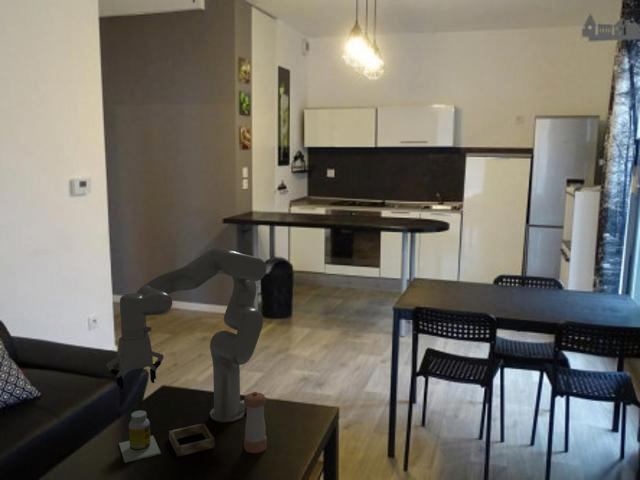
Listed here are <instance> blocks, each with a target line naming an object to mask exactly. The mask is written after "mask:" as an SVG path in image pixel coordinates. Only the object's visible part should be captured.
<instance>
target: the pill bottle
mask: <svg viewBox="0 0 640 480" xmlns="http://www.w3.org/2000/svg"><path fill="white" fill-rule="evenodd" d="M130 416H131V418H130V419H131V420H130V421H129V423H128V435H129V440H128V441H130V449H131V450H132V451H135V452H140V451H144V450H146V449H148V448H149V447H150V444H151V442H150V436H151V424H150V423H151V422H150V420H149V419H148V418H147V416H148V415H147V412H146V411H145V410H136V411H133V412H132V413H131V415H130Z"/></svg>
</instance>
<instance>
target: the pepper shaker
mask: <svg viewBox="0 0 640 480" xmlns="http://www.w3.org/2000/svg"><path fill="white" fill-rule="evenodd" d="M243 400H244V403H245V405H246V406H247V407H246V419H245V420H246V421H245V427H244V433H245V434H244V435H245V436H244V438H243V439H244V441H243V442H244V444H243V445H244V447H243V448H244V450H245V451H246V452H247V453H249V454H250V453H251V454H258V453H263V452H264V451H266V450H267V449H268V448H267V446H268V441H267V439H268V437H267V435H266V432H267V431H266V427H267V426H266V423H265V411H264V410H265V409H264V405H265V404H266V401H267V399H266V396H265V395H264V394H263V393H261V392H257V391H253V392H251V393H248V394H246V395H245V397H244V399H243Z"/></svg>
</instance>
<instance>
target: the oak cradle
mask: <svg viewBox="0 0 640 480" xmlns="http://www.w3.org/2000/svg"><path fill="white" fill-rule="evenodd" d="M200 434H202V435H203V437H204V439H202V440H198V441H194V442H193V441H192V442H189V443H185V444H181V445H180V443H179V441H178V440H179V439H183V438H188V437H191V436H196V435H200ZM168 438H169V442H170V444H171V446H172V448H173V450H174V452H175V454H176V456H177V457H182V456H186V455H190V454H195V453H198V452H202V451H207V450H210V449H214V448H215V447H216V446H215V444H216V443H215V438H214V436H213V434H212V433H211V432H210V430H209V429H208V427H207V425H206V423H204V422H203V423H199V424H193V425H189V426H185V427H180V428H177V429H172V430H169V431H168Z"/></svg>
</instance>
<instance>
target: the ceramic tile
mask: <svg viewBox="0 0 640 480" xmlns="http://www.w3.org/2000/svg"><path fill="white" fill-rule="evenodd" d="M150 442H151V444H150V447H149V448H148V449H146V450H144V451H140V452H135V451H132V450H131V449H130V441H129V440H126V441H121V442H118V445H119V450H120V452H121V455H122V458H123V462H124V463H129V462H134V461H137V460H142V458H143V459H146V458H150V457H154V456H158V455H161V450H160V448H159V446H158V444H157V443H158V442H157V441H156V439H155V437H154V435H150Z"/></svg>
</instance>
